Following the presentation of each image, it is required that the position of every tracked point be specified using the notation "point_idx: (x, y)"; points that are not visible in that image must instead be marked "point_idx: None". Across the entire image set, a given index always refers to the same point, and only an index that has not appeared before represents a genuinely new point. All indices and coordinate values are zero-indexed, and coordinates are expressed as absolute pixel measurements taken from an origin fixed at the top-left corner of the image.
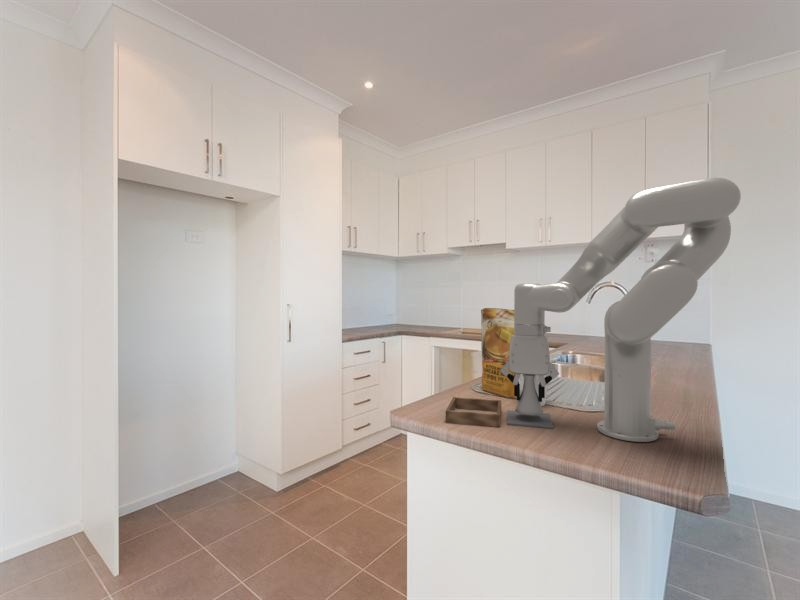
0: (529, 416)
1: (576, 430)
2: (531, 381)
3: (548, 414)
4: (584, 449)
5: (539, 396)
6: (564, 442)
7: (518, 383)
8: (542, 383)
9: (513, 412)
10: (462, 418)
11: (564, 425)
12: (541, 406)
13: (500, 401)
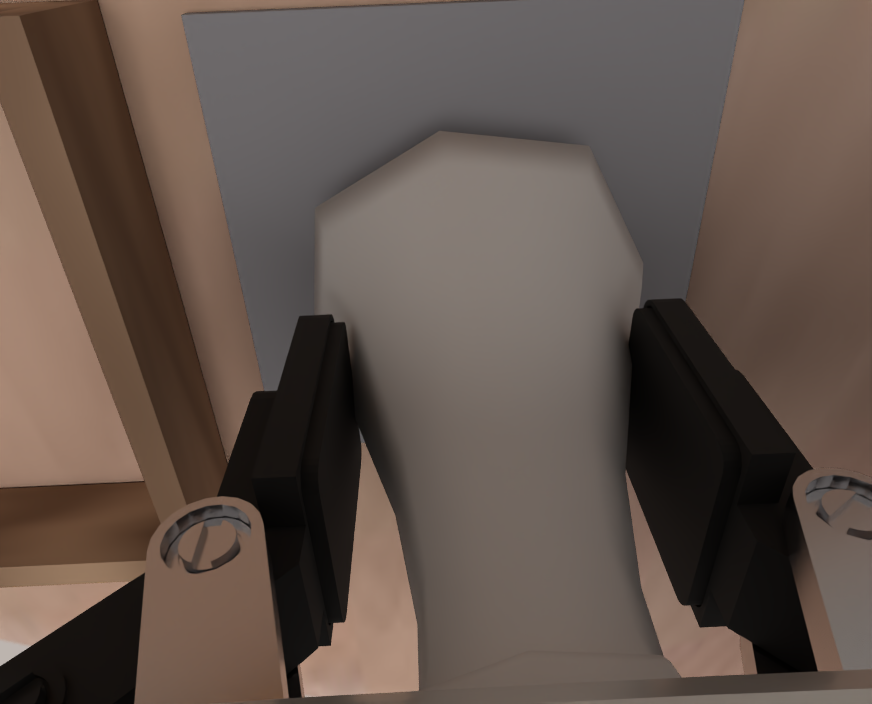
0: None
1: (838, 403)
2: None
3: (720, 47)
4: None
5: (640, 492)
6: (663, 600)
7: (311, 638)
8: (781, 657)
9: (276, 95)
10: None
11: (783, 317)
12: (638, 302)
13: (32, 91)
